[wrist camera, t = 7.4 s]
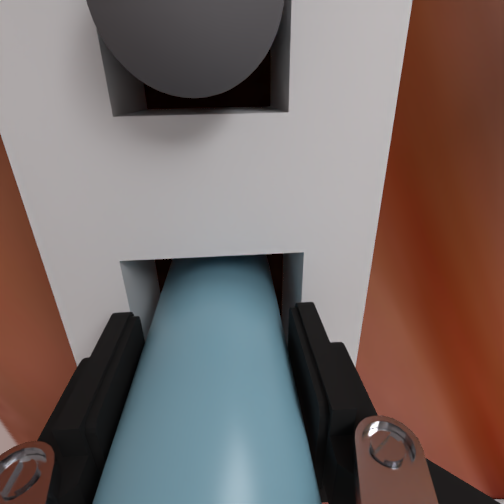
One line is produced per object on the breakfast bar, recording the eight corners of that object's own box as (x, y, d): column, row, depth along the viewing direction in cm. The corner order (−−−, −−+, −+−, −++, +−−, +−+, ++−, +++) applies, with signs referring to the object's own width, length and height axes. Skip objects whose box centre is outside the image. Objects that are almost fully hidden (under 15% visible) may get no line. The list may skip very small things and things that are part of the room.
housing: (18, -88, 9) (-109, -198, 6) (364, -86, 10) (441, -184, 6) (123, 348, 16) (94, 420, 13) (323, 336, 17) (349, 402, 13)
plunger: (138, -37, 10) (55, -157, 5) (258, -37, 10) (287, -153, 5) (156, 96, 12) (104, 100, 7) (259, 94, 12) (282, 96, 7)
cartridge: (160, 230, 14) (-229, 1063, 2) (268, 222, 14) (479, 964, 2) (178, 317, 16) (31, 987, 4) (272, 309, 16) (390, 937, 4)
